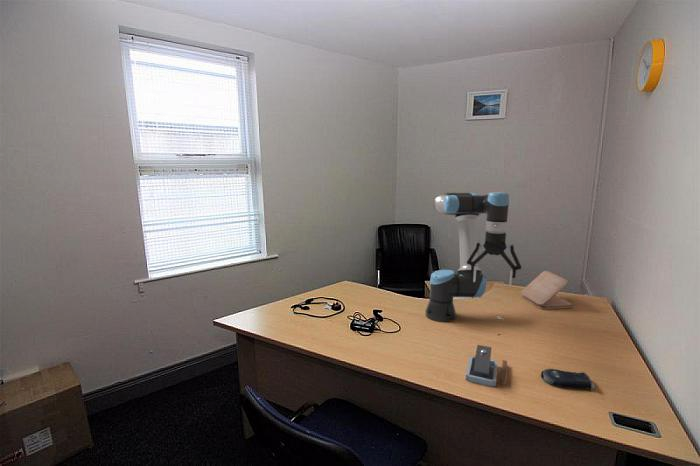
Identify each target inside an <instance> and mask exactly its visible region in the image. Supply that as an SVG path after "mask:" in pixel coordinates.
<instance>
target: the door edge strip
mask: <svg viewBox="0 0 700 466" xmlns="http://www.w3.org/2000/svg"><path fill="white" fill-rule="evenodd" d="M507 365H508V360H502V365H501V366H502V367H501V384H500V385H501V386H506V385H507V370H508V369H507V368H508V366H507Z"/></svg>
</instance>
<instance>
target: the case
mask: <svg viewBox="0 0 700 466" xmlns="http://www.w3.org/2000/svg"><path fill="white" fill-rule="evenodd" d="M568 284H569V280H568V279H566V278H564V277H562V276H560V275H558V274H556V273H553V272H552V271H549V270H544V271H542V272H541V273H540V274H538V276H536V277H535V278H534V279H533V280H532V281H531V282H530V283H528V284H527V285H526V286H525V287H523V289H522V290H521V291H520V294H521V298H522V299H524V300H525V301H527V302H528V303H530V304H532V305H533V306H535V307H537V309H541V310H558V309H559V310H560V309H574V308H575V304H573V303H572V302H569V301H567V300H566V299H563V298H562V297H559V296H557V295H556V294H558V293H559V292H560V291H561V290H562V289H564V288H565V287H566V286H567V285H568Z"/></svg>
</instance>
